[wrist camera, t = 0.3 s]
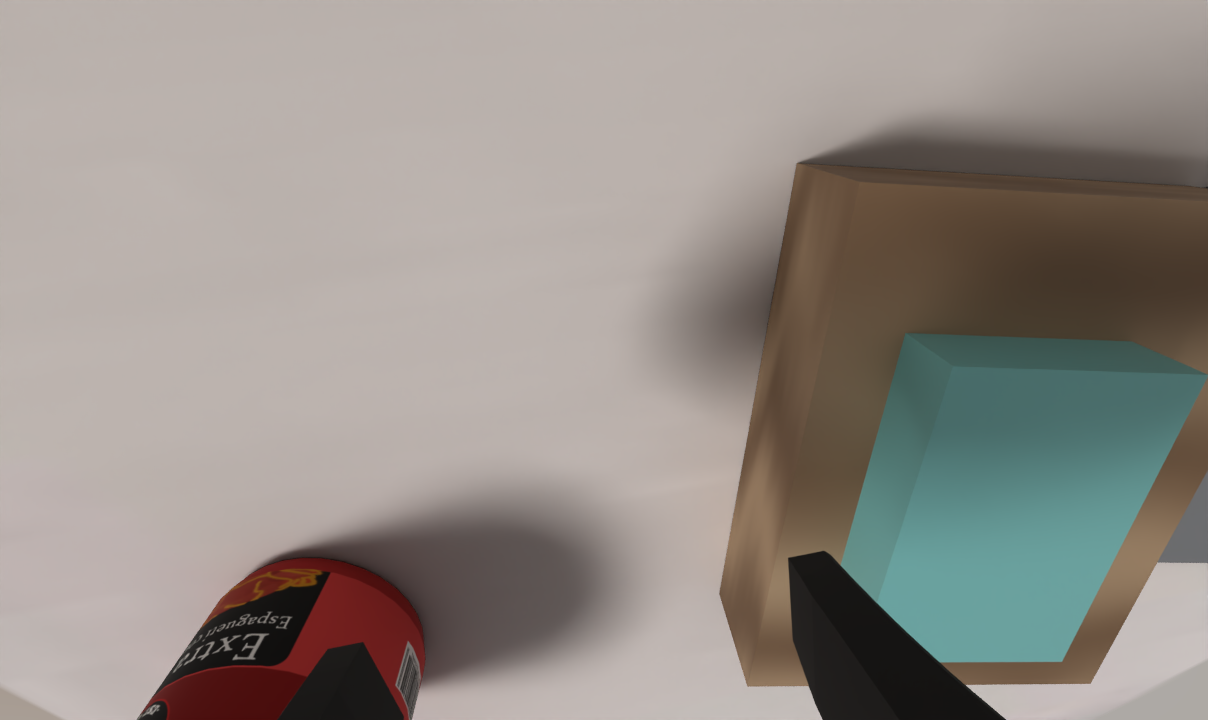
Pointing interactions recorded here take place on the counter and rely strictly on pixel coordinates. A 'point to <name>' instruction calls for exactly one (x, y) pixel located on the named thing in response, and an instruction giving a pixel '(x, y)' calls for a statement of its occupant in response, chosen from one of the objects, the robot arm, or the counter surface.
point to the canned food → (290, 642)
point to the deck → (953, 307)
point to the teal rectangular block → (1009, 486)
